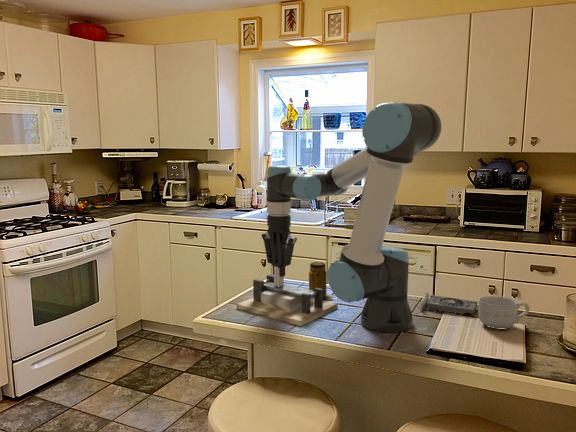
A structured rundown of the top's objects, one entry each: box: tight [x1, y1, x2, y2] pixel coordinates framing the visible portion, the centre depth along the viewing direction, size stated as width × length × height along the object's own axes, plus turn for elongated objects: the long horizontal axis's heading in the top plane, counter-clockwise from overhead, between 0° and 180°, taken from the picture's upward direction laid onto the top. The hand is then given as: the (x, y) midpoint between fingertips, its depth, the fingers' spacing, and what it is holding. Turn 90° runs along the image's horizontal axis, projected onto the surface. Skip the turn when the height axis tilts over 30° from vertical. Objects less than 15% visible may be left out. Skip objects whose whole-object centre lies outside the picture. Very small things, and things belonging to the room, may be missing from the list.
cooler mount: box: [236, 274, 339, 327], centre depth 165 cm, size 26×20×8 cm
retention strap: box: [263, 279, 319, 299], centre depth 164 cm, size 21×5×2 cm, turn 52°
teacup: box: [477, 295, 530, 329], centre depth 148 cm, size 14×11×8 cm
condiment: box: [308, 261, 333, 301], centre depth 176 cm, size 7×8×12 cm
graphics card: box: [420, 292, 478, 315], centre depth 163 cm, size 17×4×12 cm
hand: (278, 285), depth 166 cm, fingers closed
